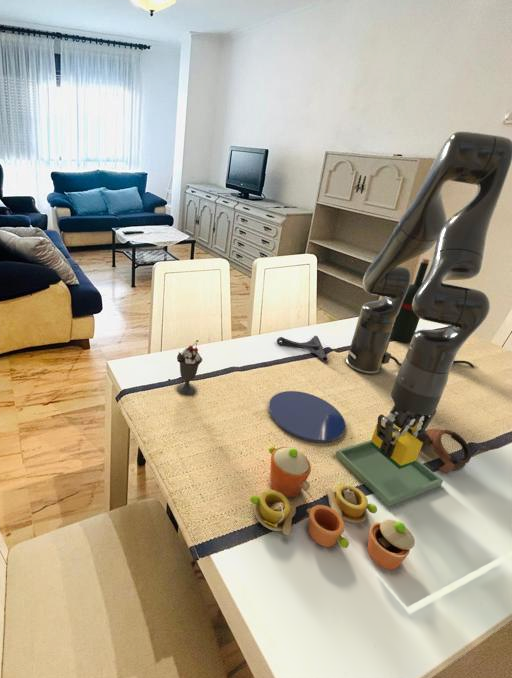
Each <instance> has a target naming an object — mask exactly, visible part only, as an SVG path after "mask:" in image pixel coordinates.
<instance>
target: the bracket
mask: <svg viewBox="0 0 512 678" xmlns="http://www.w3.org/2000/svg"><path fill="white" fill-rule="evenodd" d="M276 343H277V345H278V346H281V347H286V348H287V347H288V348H293V349H294V348H295V349H301V350H302V349H303V350H307V351H309V352H310V353H312V354H314V355H316V356H317V357H318V358H319V359H321V360H322V361H323V362H327V361H329V359H328V356H327V354H326V352H325V349H324V347H323V345H322V342H321V340H320V339H319V337H318V335H313V337H311V339H310V340H308V341H306V342H297V341H293V340H291V339H287V338H285V337H282V336H280V337H278V338H277V339H276Z"/></svg>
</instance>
